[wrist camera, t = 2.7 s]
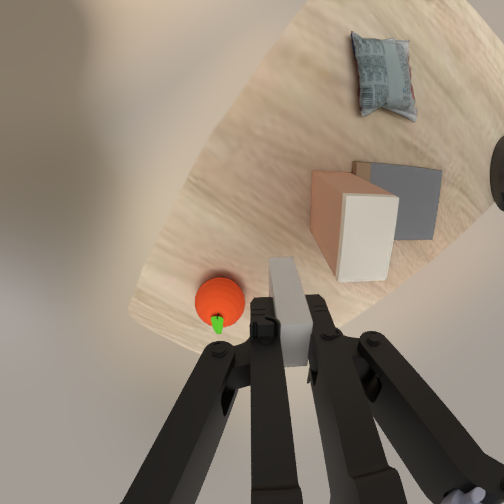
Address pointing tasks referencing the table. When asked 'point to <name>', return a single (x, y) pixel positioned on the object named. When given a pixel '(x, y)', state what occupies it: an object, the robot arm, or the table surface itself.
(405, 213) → the mat
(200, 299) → the clementine
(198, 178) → the table surface
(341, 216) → the terracotta block
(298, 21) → the table surface
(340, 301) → the table surface
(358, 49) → the packaged food
